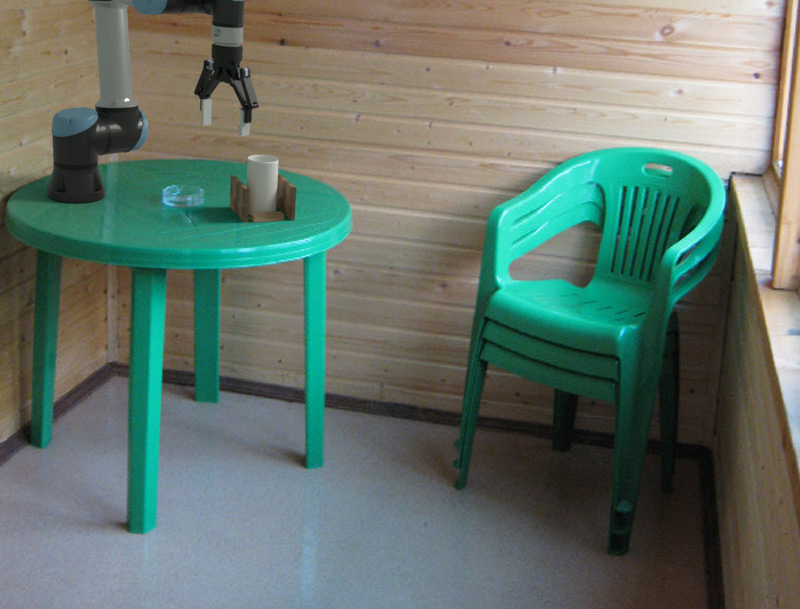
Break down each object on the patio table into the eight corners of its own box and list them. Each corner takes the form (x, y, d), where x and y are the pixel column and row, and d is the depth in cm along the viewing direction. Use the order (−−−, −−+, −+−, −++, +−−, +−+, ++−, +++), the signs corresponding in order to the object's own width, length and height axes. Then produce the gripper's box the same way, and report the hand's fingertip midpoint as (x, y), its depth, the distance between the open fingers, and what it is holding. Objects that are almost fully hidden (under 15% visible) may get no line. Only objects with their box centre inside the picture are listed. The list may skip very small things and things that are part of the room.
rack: (229, 210, 290) (230, 175, 286) (278, 208, 295) (280, 173, 292) (243, 225, 278) (245, 189, 274) (294, 223, 283) (296, 187, 280)
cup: (242, 212, 289) (244, 154, 283) (271, 211, 292) (273, 154, 287) (250, 221, 282) (252, 162, 276) (279, 220, 285) (282, 162, 280)
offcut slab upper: (250, 219, 281) (250, 213, 280) (280, 216, 285) (280, 211, 284) (254, 222, 278) (254, 216, 278) (284, 219, 283) (284, 214, 282)
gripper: (180, 37, 260) (179, 122, 267) (253, 52, 246) (250, 142, 254) (203, 35, 265) (201, 119, 273) (275, 50, 252) (271, 138, 260)
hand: (225, 130), depth 264 cm, fingers open, 13 cm apart
